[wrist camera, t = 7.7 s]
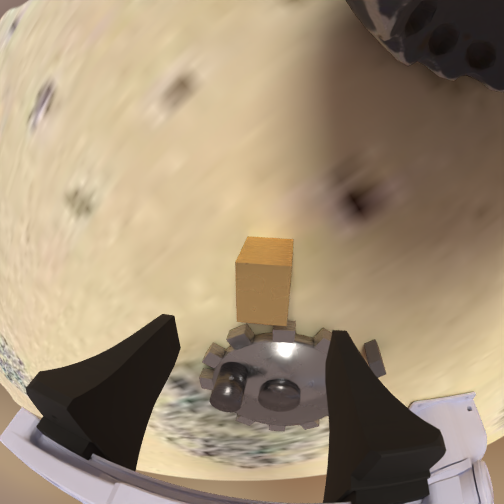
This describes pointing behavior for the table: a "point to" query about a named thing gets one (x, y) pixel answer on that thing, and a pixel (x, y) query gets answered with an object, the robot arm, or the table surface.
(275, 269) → the link block
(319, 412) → the sprocket
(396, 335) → the table surface
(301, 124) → the table surface
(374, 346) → the block
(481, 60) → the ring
